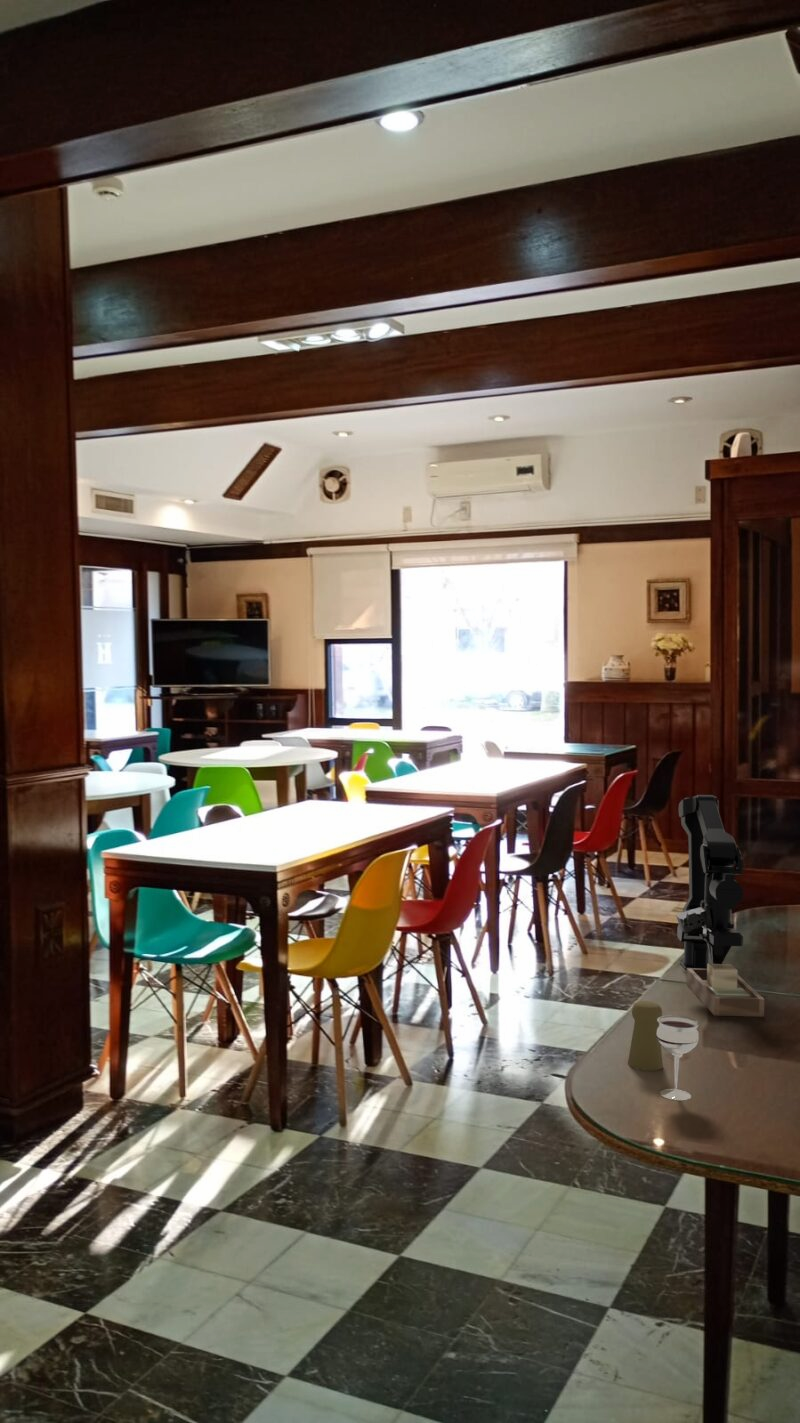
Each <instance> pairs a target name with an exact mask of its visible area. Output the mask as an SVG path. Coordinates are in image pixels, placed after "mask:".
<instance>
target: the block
mask: <svg viewBox="0 0 800 1423" xmlns="http://www.w3.org/2000/svg"><path fill="white" fill-rule="evenodd" d="M738 972H739V971H738V969H736V967H734V966H733V965H732V964H731V963H722V964H712V963H709V964H707V983H708V984H709V985H710V986H711V987H712V988H713V989H737V974H738Z"/></svg>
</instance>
